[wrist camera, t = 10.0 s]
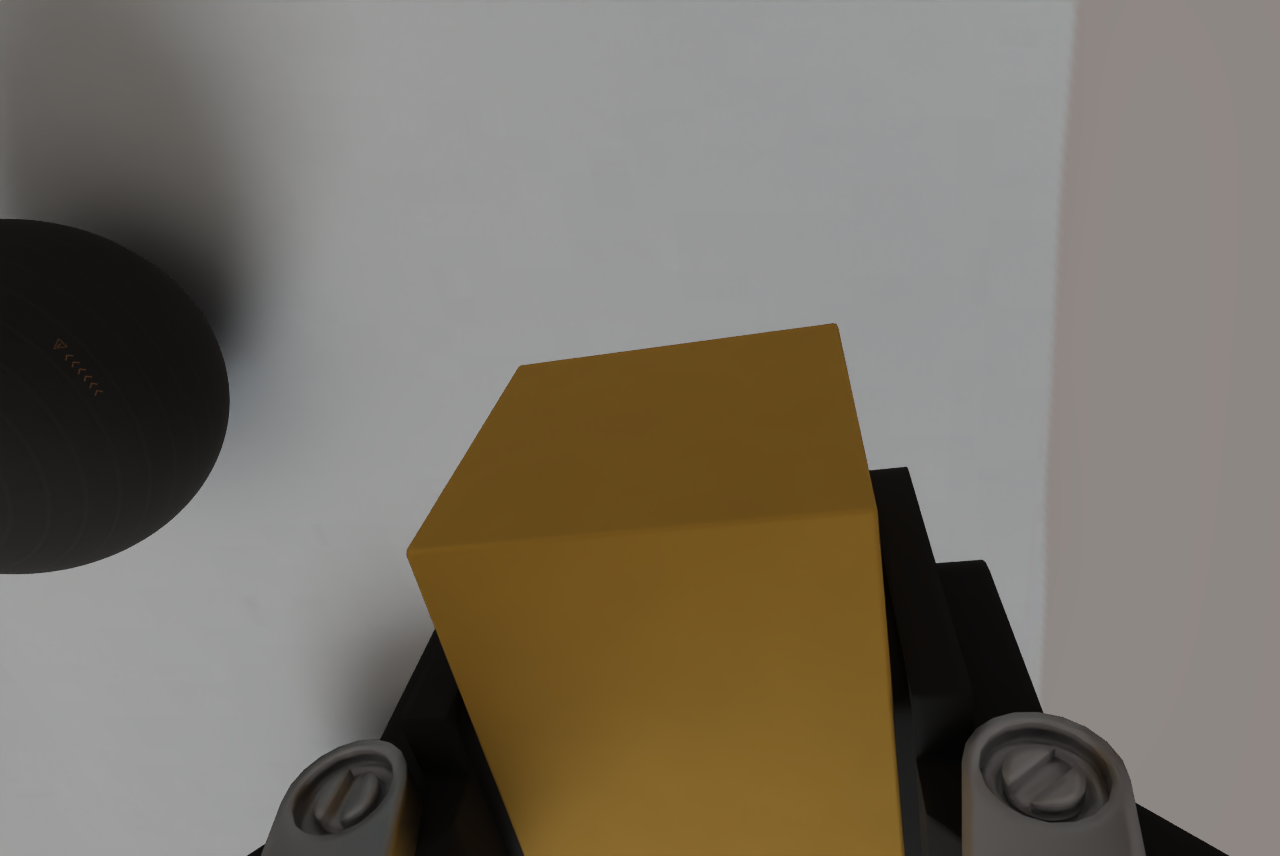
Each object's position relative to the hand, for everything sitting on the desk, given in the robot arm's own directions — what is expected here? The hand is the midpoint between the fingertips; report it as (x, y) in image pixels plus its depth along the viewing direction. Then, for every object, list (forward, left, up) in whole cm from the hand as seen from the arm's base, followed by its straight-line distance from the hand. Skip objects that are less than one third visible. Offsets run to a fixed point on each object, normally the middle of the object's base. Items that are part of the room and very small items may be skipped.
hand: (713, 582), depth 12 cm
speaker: (+19, -7, -15) cm, 25 cm away
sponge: (0, 0, 0) cm, 0 cm away
